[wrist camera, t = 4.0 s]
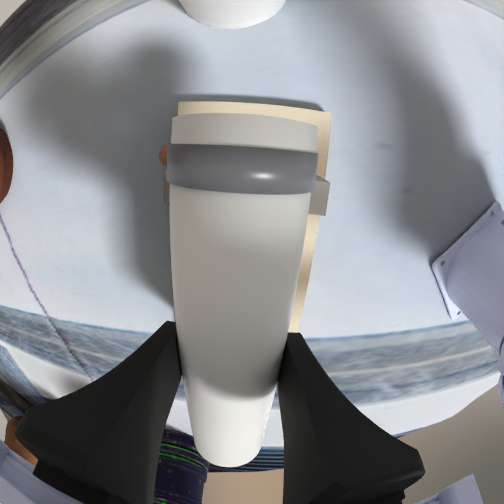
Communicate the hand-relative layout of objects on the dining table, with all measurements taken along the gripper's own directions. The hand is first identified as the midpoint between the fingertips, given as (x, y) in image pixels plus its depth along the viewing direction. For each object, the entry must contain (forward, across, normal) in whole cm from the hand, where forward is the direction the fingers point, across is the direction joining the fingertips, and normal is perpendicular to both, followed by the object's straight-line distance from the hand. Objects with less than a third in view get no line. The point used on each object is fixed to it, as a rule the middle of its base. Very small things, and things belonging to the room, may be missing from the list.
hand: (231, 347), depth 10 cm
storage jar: (+9, +8, +30) cm, 33 cm away
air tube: (0, 0, 0) cm, 0 cm away
